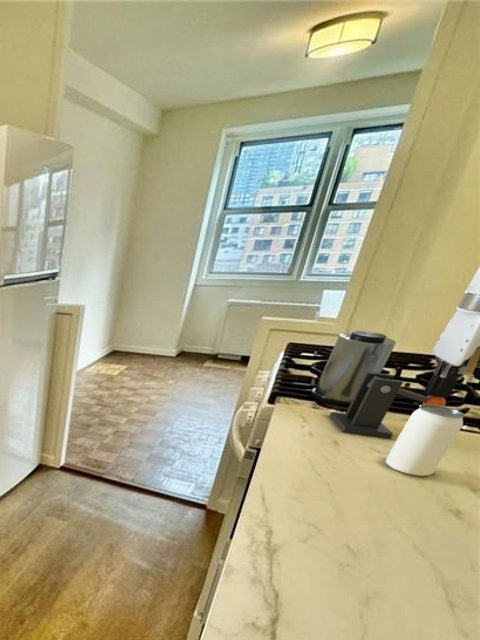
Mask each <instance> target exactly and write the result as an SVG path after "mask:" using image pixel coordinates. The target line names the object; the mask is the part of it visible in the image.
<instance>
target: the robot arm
mask: <svg viewBox="0 0 480 640" xmlns="http://www.w3.org/2000/svg"><path fill="white" fill-rule="evenodd" d="M455 310H456V312H455V313H454V315H453V316H452V317H451V319H450V320H449V321H448V322H447V324H446V326H445V327H444V329H443V331H442V332H441V333H440V336H439V337H438V339H437V341H436V343H435V345H434V346H433V348H432V353H433V355H434V356H435V357H434V361H435V362H436V366H435V368H434V370H433V375H432V377H431V378H430V380H429V382H428V383H427V385H426V387H425V389H423V393H424V394H426V395H427V396H437V397H444V398H448V397H449V396H450V395H451V393H452V391H453V390H454V388H455V386H456V385H457V383H458V381H460V380H461V379H462V378H463V377H464V376H472V375H473V374H474V372H475V369H476V368H477V369H480V266H479V267H478V268H477V271H476V272H475V274H474V276H473V278H472V279H471V282H470V283H469V285H468V286H467V288H466V290H465V292H464V293H463V296H462V297H461V298H460V301H459V303H458V304H457V306H456V307H455Z"/></svg>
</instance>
